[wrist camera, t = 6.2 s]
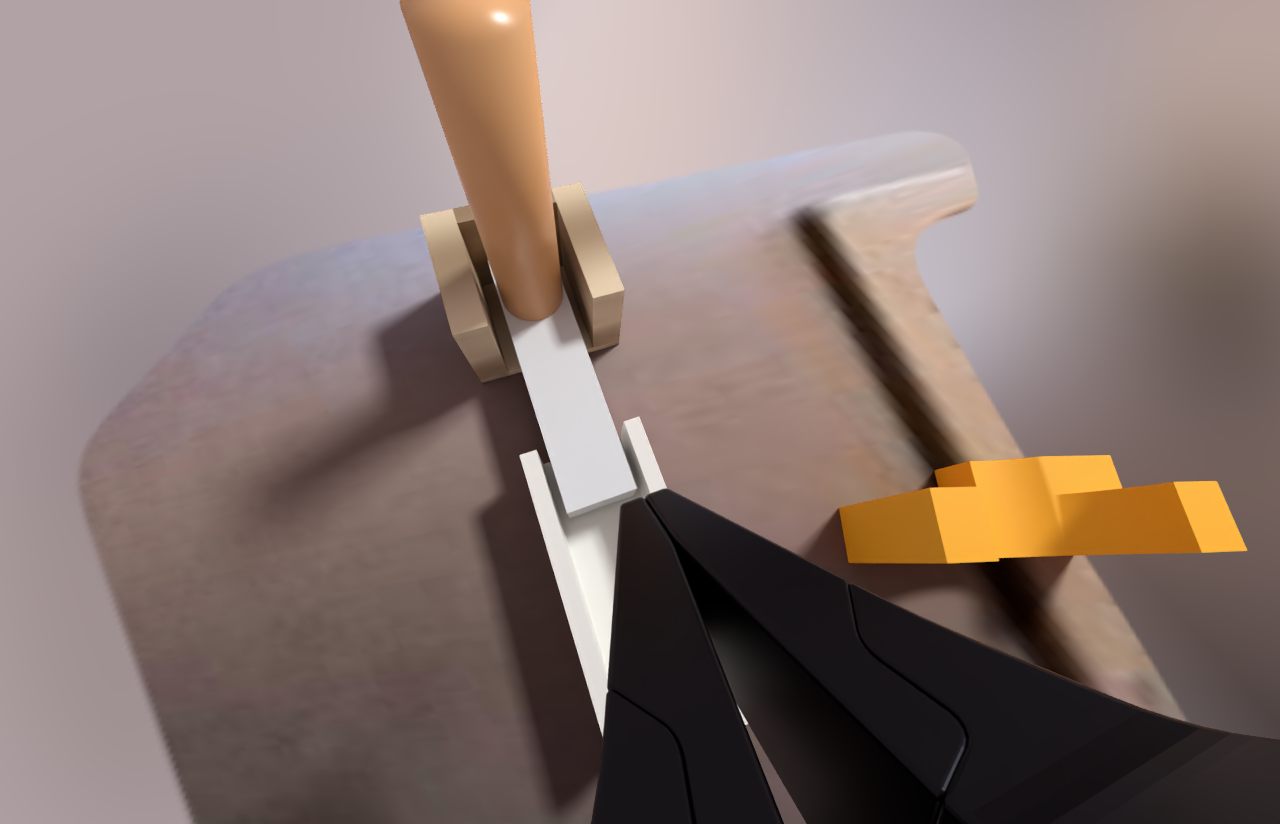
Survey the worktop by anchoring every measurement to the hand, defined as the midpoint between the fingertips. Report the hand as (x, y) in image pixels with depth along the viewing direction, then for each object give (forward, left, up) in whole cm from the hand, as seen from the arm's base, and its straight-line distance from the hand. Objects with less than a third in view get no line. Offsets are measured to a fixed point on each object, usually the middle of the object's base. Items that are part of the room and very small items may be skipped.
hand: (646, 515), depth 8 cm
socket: (+12, -5, -14) cm, 19 cm away
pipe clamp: (-11, -13, -14) cm, 22 cm away
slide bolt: (+7, -3, -13) cm, 15 cm away
